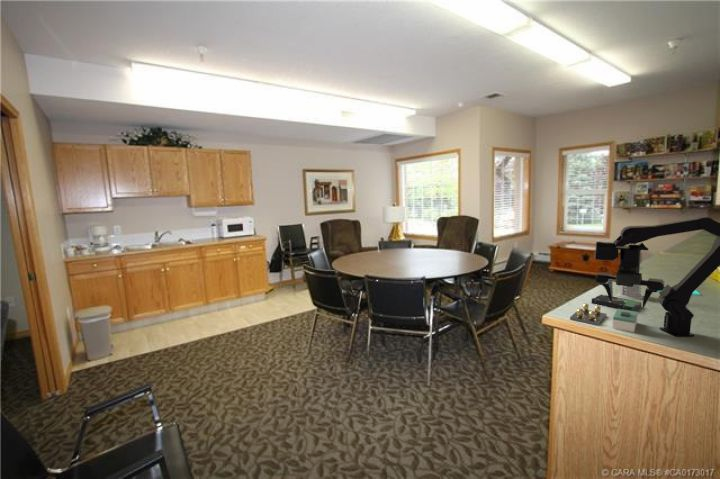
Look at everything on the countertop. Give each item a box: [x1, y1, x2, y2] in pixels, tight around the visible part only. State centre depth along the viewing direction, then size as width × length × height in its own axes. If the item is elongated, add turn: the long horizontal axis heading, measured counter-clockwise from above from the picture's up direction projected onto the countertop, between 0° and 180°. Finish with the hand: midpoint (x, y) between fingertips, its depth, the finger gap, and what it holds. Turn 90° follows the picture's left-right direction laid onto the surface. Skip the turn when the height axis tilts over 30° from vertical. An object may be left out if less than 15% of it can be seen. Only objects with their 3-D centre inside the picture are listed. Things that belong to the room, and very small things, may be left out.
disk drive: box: [591, 294, 643, 312], centre depth 143 cm, size 10×3×15 cm
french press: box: [616, 243, 644, 300], centre depth 152 cm, size 10×12×25 cm
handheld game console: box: [656, 285, 701, 296], centre depth 160 cm, size 10×16×1 cm, turn 58°
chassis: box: [569, 303, 607, 326], centre depth 130 cm, size 13×9×4 cm
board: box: [612, 309, 639, 333], centre depth 121 cm, size 11×6×5 cm, turn 137°
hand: (626, 304), depth 121 cm, fingers open, 9 cm apart
